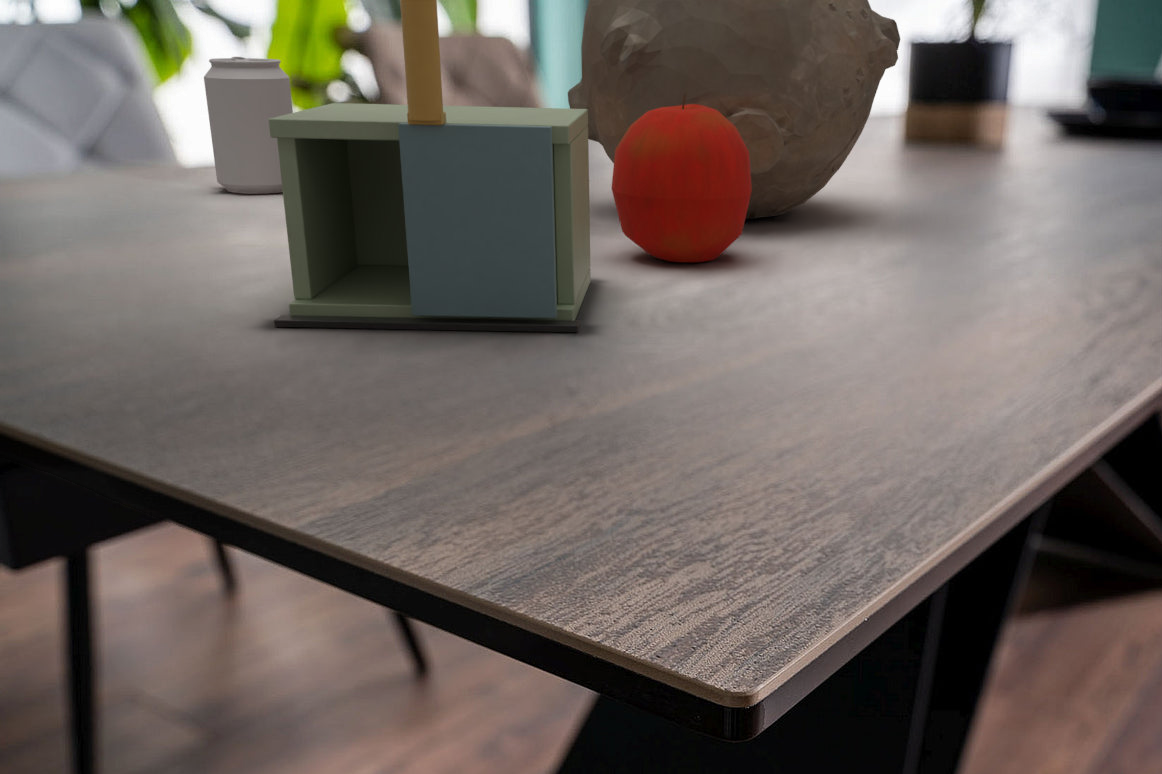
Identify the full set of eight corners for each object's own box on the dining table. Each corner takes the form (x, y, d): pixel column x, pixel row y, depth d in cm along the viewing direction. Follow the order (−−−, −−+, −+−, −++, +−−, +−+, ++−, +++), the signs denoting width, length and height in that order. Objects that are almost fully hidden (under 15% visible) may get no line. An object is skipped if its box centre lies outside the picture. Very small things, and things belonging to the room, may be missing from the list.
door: (408, 319, 65) (377, -93, 58) (415, 312, 67) (386, -90, 59) (554, 322, 65) (542, -89, 58) (557, 314, 67) (546, -86, 60)
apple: (664, 240, 94) (665, 87, 90) (775, 255, 89) (782, 94, 85) (585, 260, 86) (582, 92, 82) (703, 277, 81) (706, 100, 77)
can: (241, 197, 109) (224, 59, 105) (204, 188, 114) (186, 56, 110) (315, 190, 114) (302, 58, 110) (277, 182, 119) (263, 55, 115)
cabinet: (274, 327, 66) (250, 120, 62) (342, 277, 78) (325, 102, 74) (577, 332, 66) (573, 128, 62) (596, 282, 79) (594, 109, 75)
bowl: (882, 247, 94) (902, -30, 86) (532, 229, 97) (523, -37, 90) (890, 198, 119) (906, -19, 111) (612, 186, 122) (609, -25, 115)
